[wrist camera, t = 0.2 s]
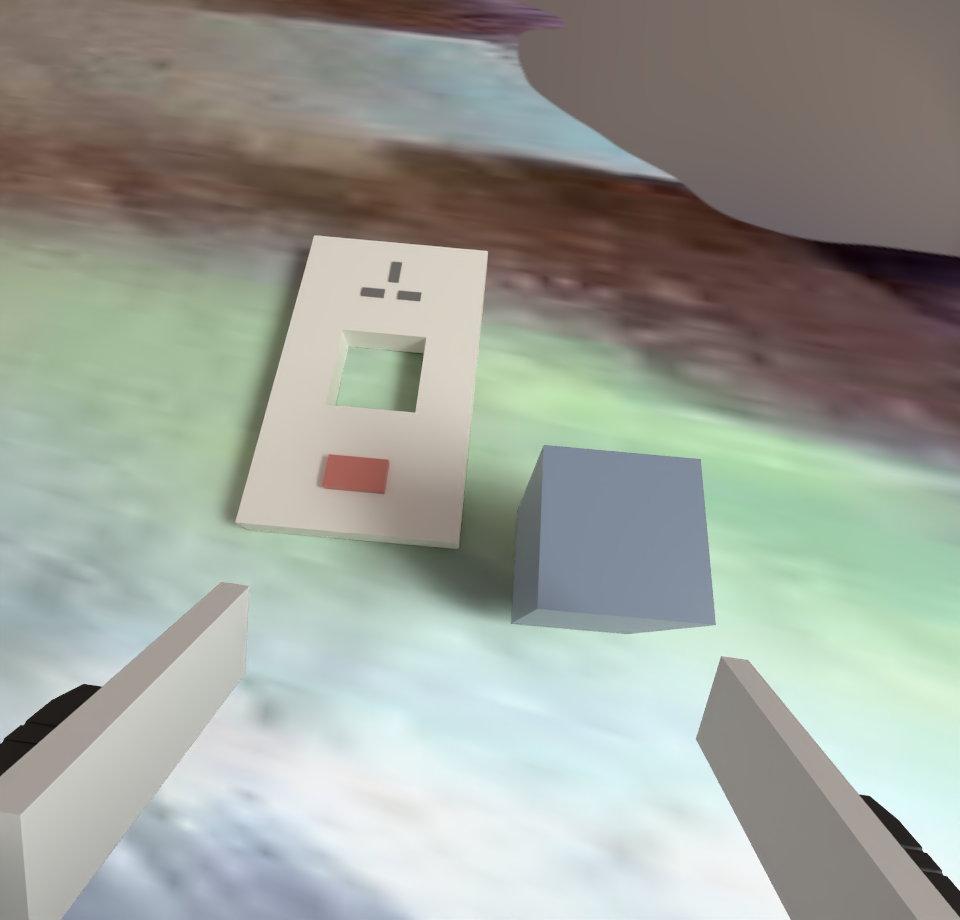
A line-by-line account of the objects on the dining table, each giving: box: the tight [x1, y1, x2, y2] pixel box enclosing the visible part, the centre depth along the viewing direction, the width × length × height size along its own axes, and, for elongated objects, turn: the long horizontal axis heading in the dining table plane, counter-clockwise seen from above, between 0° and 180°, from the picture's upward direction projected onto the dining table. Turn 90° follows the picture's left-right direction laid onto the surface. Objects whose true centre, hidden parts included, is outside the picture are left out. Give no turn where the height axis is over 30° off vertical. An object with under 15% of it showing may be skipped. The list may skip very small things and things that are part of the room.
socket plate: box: [235, 235, 488, 549], centre depth 33 cm, size 22×13×3 cm, turn 175°
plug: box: [511, 445, 716, 634], centre depth 24 cm, size 6×6×12 cm
